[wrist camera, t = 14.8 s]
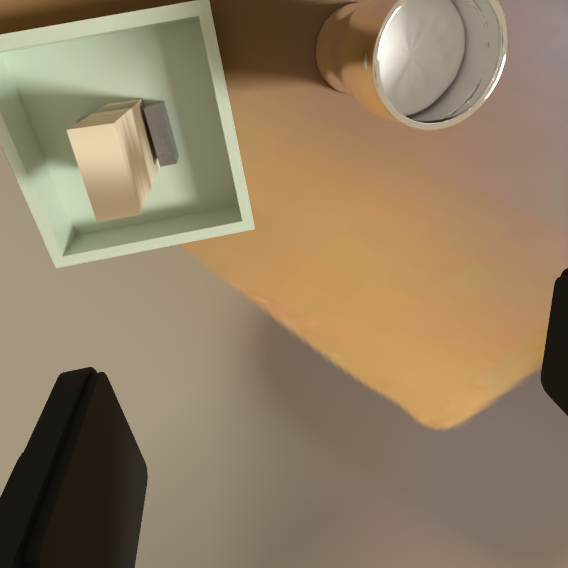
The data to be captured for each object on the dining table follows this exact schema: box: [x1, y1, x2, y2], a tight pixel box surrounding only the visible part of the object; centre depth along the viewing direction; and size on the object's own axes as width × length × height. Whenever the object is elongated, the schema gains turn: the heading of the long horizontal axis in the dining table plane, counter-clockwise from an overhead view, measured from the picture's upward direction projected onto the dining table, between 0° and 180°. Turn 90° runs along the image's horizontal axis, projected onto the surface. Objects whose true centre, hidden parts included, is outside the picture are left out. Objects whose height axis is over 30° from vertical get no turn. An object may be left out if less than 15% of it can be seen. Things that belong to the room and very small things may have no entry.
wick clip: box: [76, 101, 179, 167], centre depth 33 cm, size 4×6×2 cm
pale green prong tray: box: [0, 0, 255, 268], centre depth 33 cm, size 15×15×5 cm
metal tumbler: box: [316, 0, 508, 130], centre depth 28 cm, size 7×7×15 cm
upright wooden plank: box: [67, 98, 159, 221], centre depth 30 cm, size 5×2×11 cm, turn 7°
